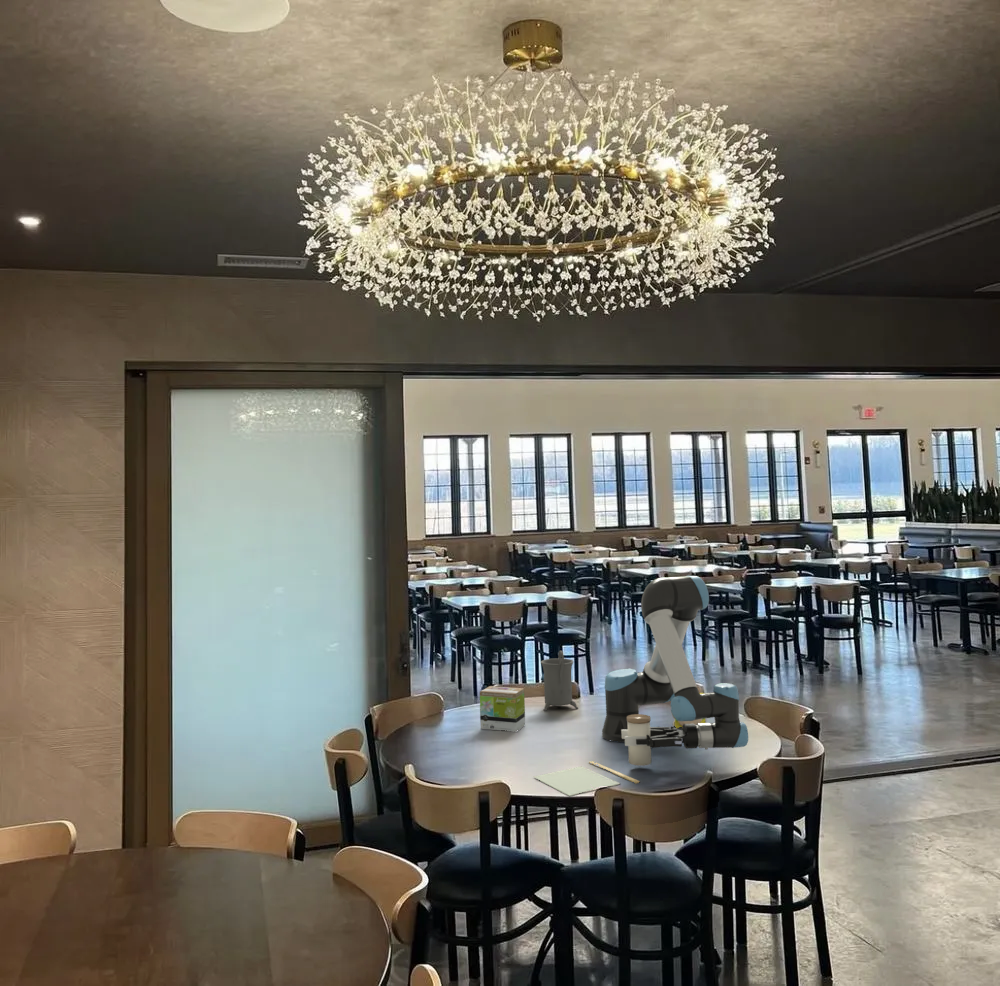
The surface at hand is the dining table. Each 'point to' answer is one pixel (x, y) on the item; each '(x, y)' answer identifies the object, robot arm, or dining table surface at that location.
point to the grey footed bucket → (558, 681)
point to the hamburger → (686, 722)
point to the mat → (575, 780)
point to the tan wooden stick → (617, 773)
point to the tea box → (502, 708)
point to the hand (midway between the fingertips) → (623, 737)
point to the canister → (639, 727)
